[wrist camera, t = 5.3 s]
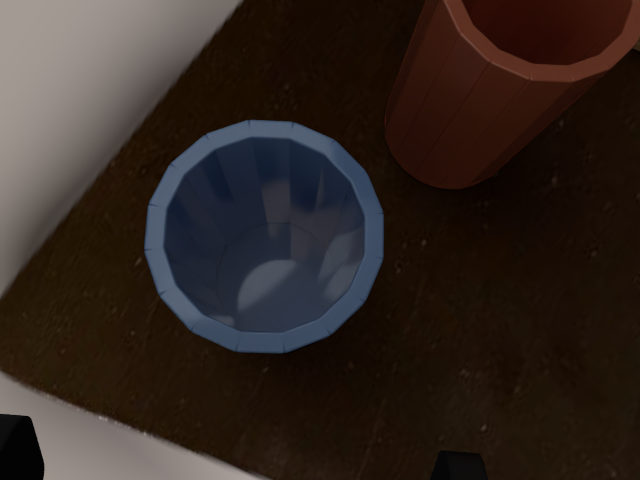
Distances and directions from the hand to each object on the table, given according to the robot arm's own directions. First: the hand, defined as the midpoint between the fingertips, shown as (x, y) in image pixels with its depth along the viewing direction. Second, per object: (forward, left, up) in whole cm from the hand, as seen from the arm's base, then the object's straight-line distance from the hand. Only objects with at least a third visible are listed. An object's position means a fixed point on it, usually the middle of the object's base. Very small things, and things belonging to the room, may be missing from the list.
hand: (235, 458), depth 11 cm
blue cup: (-2, +5, -11) cm, 13 cm away
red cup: (+2, +14, -11) cm, 18 cm away
